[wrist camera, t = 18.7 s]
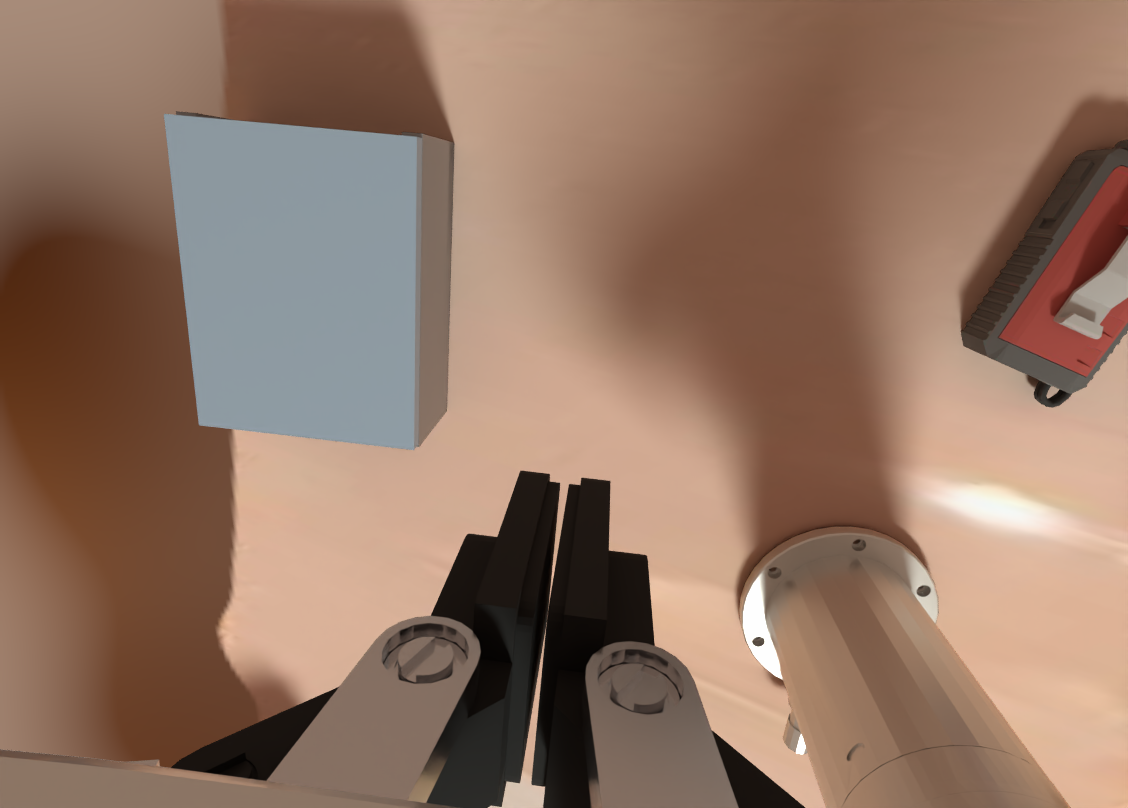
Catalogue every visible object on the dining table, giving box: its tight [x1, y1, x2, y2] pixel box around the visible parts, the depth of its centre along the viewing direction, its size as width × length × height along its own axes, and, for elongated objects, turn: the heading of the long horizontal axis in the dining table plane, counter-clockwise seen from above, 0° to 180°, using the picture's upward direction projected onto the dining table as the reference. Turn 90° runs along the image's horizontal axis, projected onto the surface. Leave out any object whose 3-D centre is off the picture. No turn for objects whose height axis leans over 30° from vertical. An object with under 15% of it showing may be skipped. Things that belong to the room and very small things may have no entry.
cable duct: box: [176, 112, 454, 447], centre depth 35 cm, size 16×12×6 cm
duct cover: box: [164, 114, 422, 450], centre depth 32 cm, size 16×12×1 cm
